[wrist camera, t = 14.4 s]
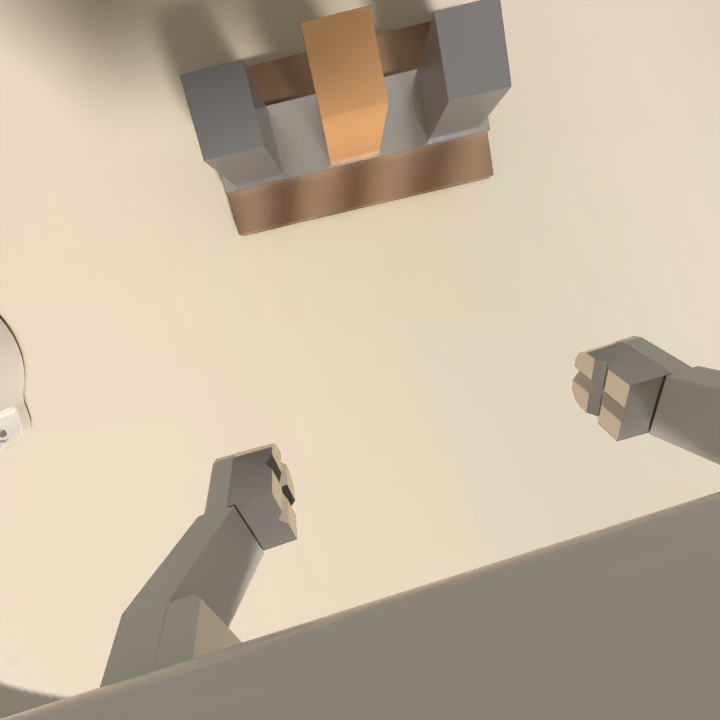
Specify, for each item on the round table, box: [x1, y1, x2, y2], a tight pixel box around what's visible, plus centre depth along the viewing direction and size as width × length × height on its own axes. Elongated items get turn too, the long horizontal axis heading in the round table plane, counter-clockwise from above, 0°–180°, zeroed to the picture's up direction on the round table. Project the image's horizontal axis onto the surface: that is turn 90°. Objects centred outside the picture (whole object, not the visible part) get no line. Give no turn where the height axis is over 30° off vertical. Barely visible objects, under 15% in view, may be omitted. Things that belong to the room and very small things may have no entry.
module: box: [301, 5, 389, 164], centre depth 27 cm, size 4×5×9 cm
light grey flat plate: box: [221, 69, 490, 194], centre depth 31 cm, size 22×6×1 cm, turn 103°
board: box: [228, 22, 493, 236], centre depth 32 cm, size 22×12×1 cm, turn 103°
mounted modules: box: [180, 0, 511, 187], centre depth 28 cm, size 20×5×7 cm, turn 103°
